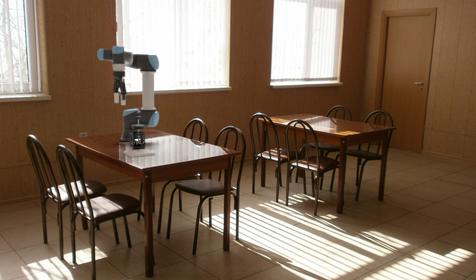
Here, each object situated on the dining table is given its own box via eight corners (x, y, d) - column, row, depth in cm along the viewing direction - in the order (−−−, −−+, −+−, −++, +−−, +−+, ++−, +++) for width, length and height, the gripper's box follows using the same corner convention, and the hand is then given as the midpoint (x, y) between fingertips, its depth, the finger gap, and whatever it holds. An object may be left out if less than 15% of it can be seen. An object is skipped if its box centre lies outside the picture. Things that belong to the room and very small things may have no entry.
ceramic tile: (123, 153, 308) (123, 150, 307) (146, 150, 316) (146, 148, 316) (130, 157, 296) (130, 155, 296) (154, 154, 304) (154, 152, 304)
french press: (142, 147, 326) (141, 114, 322) (149, 149, 319) (148, 116, 315) (127, 149, 318) (126, 116, 314) (134, 152, 312) (133, 117, 307)
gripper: (107, 69, 304) (108, 102, 308) (119, 71, 283) (120, 106, 287) (118, 69, 308) (119, 101, 312) (131, 71, 287) (132, 105, 291)
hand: (119, 104), depth 300 cm, fingers open, 13 cm apart
